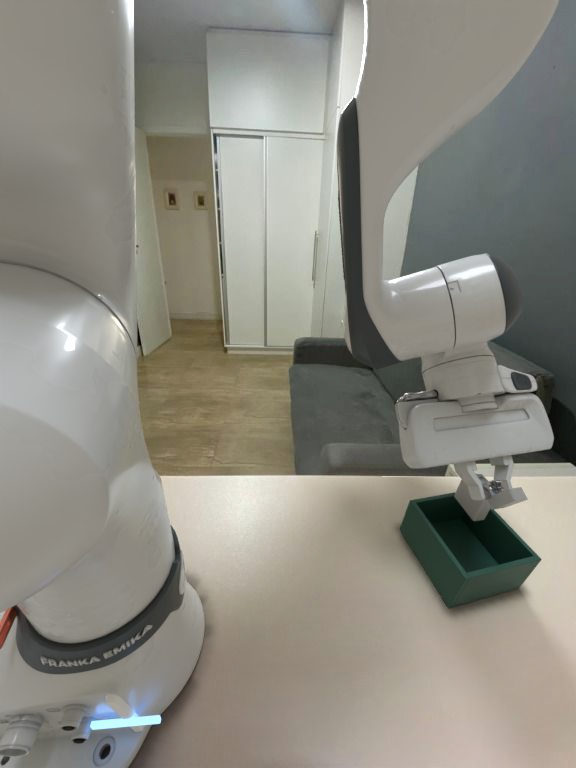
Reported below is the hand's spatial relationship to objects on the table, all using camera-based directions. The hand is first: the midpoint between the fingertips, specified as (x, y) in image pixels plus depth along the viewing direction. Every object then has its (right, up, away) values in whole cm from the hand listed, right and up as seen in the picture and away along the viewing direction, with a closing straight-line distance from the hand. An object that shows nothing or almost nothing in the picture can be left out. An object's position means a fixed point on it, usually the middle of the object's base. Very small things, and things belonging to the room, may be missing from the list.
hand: (492, 497), depth 37 cm
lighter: (0, -4, +3) cm, 5 cm away
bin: (-1, -11, +7) cm, 13 cm away
